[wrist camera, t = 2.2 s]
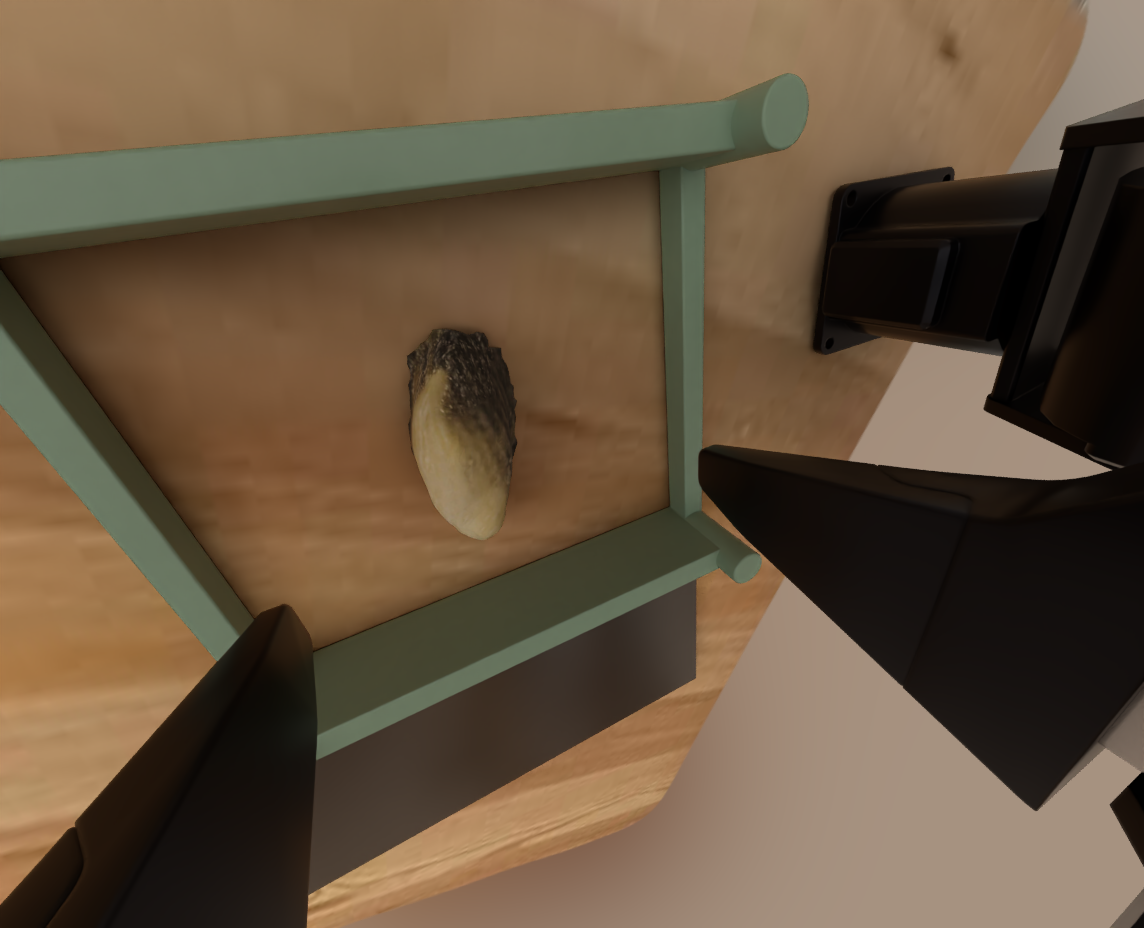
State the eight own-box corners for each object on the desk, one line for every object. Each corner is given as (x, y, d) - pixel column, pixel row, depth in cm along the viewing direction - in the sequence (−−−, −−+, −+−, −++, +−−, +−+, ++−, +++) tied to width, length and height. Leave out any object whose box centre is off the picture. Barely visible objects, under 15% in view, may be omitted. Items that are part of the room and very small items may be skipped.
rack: (687, 119, 13) (813, 70, 10) (689, 518, 21) (761, 575, 17) (-138, 198, 8) (-556, 155, 4) (266, 698, 16) (238, 837, 12)
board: (686, 540, 22) (697, 549, 21) (687, 667, 26) (696, 678, 26) (162, 772, 15) (153, 796, 14) (293, 883, 20) (291, 905, 19)
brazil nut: (487, 535, 16) (520, 564, 14) (347, 503, 14) (356, 533, 11) (545, 374, 16) (589, 374, 14) (417, 311, 14) (442, 297, 11)
